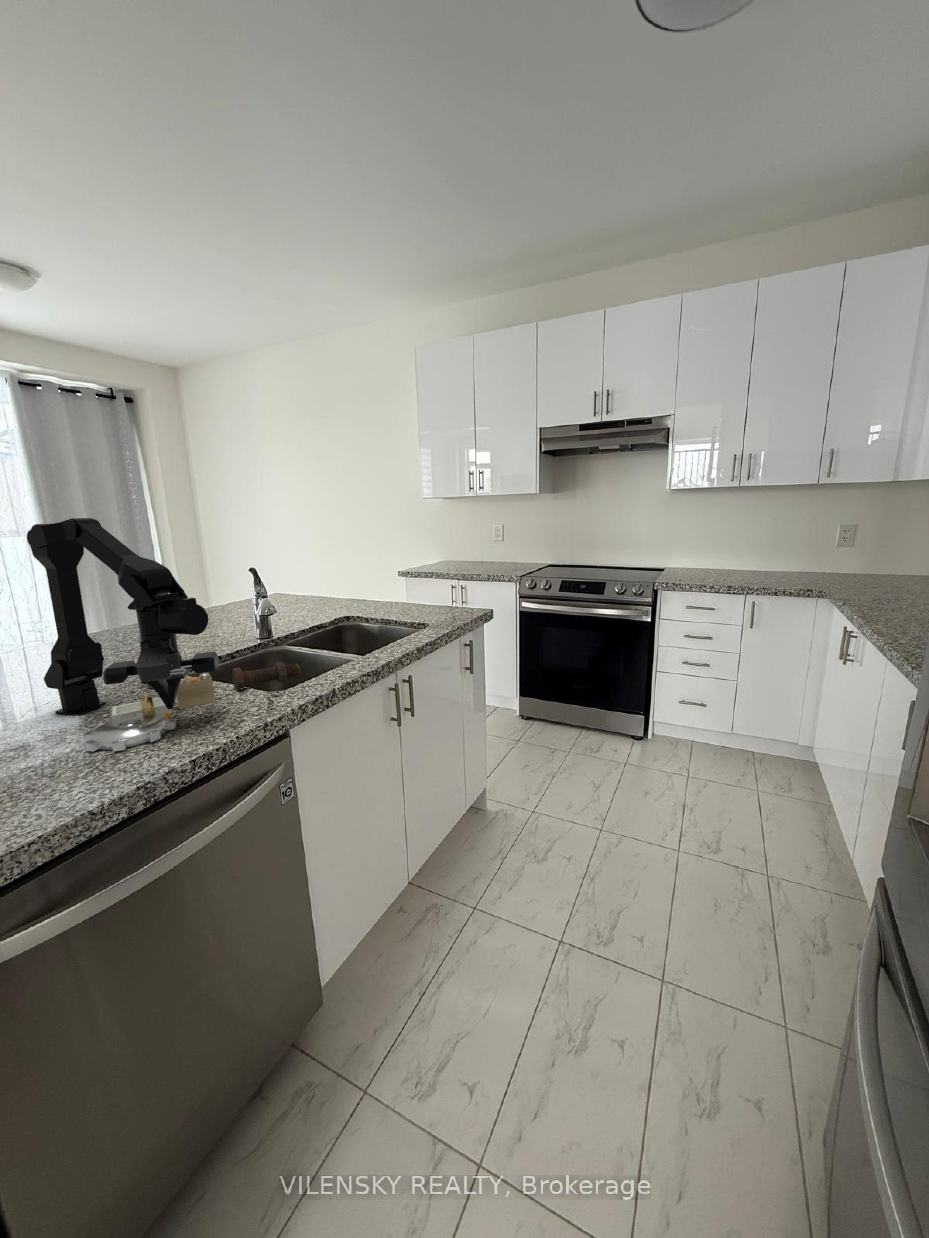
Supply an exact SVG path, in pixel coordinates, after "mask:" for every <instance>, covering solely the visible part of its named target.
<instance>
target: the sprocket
mask: <svg viewBox="0 0 929 1238" xmlns="http://www.w3.org/2000/svg"><path fill="white" fill-rule="evenodd" d="M153 699H154V698H153V695H151V694H149V695H143V696H141V697H139V700H140V701H141V707H142V712H143V713H137V714H136V715H132V716H128V717H124V718H120V719H117V720H114V719H113V718H112V719H110V720H107V721H105V722H102V725H100V726H98V727H97V728H95V729H94V730H89V731H86V732H84V734H83V735H82V738H83V743H84V746H85V750H86V751H89V752H95V751H97V750H105V751H107V750H108V751H110V750H112V751H113V752H119V751H125V750H126V749H127V748H131V747H136V746H139V745H142V744H146V743H148V742H149V743H153V742H156V741H158V740H160V739H161V736H162V735H164V734H165V733H166V732H167V731H171V730H175V729H176V727H177V721H176V718H173V717H172V714H171V713H168V712H164V713H161V714H158V713H155V710H154V704H153Z"/></svg>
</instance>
